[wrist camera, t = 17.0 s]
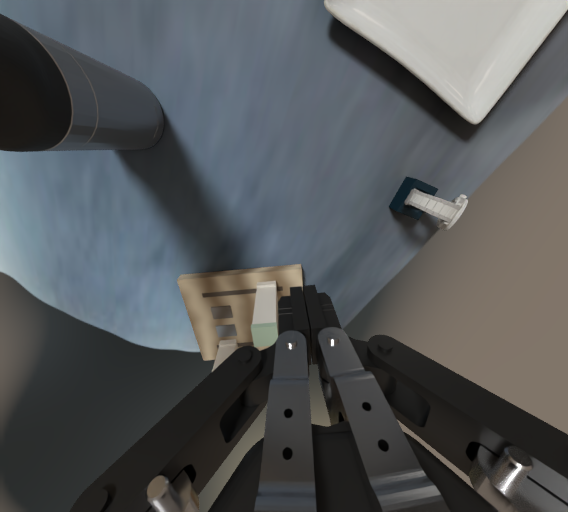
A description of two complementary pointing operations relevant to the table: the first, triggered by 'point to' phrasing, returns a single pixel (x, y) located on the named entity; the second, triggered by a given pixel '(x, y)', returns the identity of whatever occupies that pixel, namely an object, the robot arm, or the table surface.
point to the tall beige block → (265, 315)
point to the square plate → (456, 42)
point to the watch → (427, 203)
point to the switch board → (230, 302)
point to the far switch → (225, 351)
